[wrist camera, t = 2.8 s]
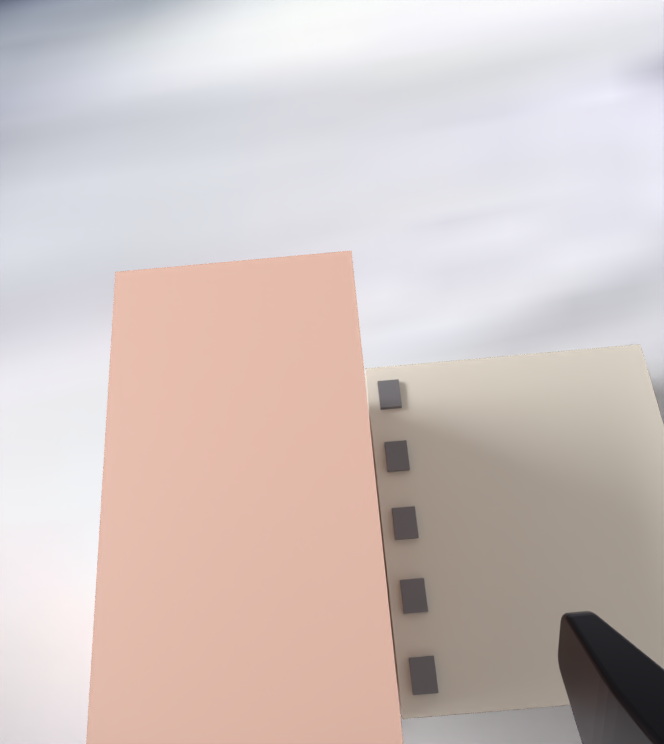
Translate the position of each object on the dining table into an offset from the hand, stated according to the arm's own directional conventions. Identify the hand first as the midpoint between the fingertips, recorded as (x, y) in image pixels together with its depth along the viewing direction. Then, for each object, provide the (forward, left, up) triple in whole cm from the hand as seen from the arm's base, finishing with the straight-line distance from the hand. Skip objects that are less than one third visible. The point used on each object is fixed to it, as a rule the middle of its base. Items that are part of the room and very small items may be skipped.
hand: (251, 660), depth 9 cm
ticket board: (0, -7, -9) cm, 12 cm away
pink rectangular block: (+2, -1, -9) cm, 9 cm away
